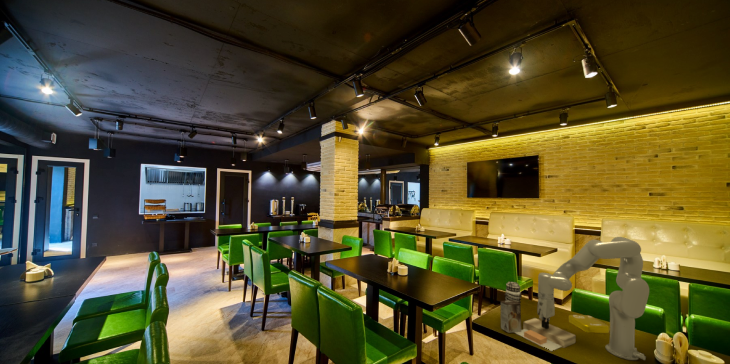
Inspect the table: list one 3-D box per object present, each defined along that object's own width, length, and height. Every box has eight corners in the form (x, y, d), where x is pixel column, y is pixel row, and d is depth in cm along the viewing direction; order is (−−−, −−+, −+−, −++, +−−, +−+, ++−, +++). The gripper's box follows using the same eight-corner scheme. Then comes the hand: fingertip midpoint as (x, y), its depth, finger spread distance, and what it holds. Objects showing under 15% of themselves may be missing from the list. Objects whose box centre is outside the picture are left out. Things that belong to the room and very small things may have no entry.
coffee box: (512, 326, 168) (512, 299, 169) (521, 331, 162) (521, 303, 163) (500, 328, 165) (500, 300, 166) (508, 333, 159) (508, 304, 160)
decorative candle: (523, 327, 168) (524, 285, 168) (508, 326, 168) (509, 285, 168) (515, 320, 177) (516, 280, 177) (501, 319, 177) (502, 280, 177)
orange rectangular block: (540, 340, 148) (540, 344, 148) (546, 337, 151) (546, 342, 151) (524, 331, 156) (523, 336, 156) (530, 329, 159) (530, 334, 159)
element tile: (586, 333, 164) (586, 325, 164) (567, 321, 179) (567, 313, 179) (610, 334, 165) (611, 326, 165) (589, 321, 180) (589, 314, 180)
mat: (561, 346, 148) (561, 346, 148) (551, 351, 143) (551, 350, 143) (524, 329, 165) (524, 328, 165) (514, 332, 160) (514, 332, 160)
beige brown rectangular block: (575, 342, 153) (575, 335, 153) (563, 347, 147) (564, 340, 147) (534, 324, 172) (535, 317, 172) (523, 328, 166) (523, 321, 166)
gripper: (545, 300, 151) (545, 334, 151) (559, 295, 158) (559, 327, 158) (531, 295, 158) (531, 327, 157) (545, 291, 165) (545, 322, 164)
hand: (545, 327), depth 158 cm, fingers closed
